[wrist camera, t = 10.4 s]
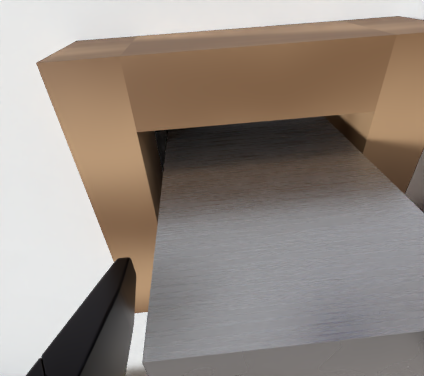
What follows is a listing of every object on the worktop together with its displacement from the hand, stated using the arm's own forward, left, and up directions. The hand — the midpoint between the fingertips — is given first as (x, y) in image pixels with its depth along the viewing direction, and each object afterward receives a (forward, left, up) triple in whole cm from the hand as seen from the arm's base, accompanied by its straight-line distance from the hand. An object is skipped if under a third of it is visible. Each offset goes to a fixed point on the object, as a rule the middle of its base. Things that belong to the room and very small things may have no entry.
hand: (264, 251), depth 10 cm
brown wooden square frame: (0, 0, -6) cm, 6 cm away
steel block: (0, 0, -6) cm, 6 cm away
